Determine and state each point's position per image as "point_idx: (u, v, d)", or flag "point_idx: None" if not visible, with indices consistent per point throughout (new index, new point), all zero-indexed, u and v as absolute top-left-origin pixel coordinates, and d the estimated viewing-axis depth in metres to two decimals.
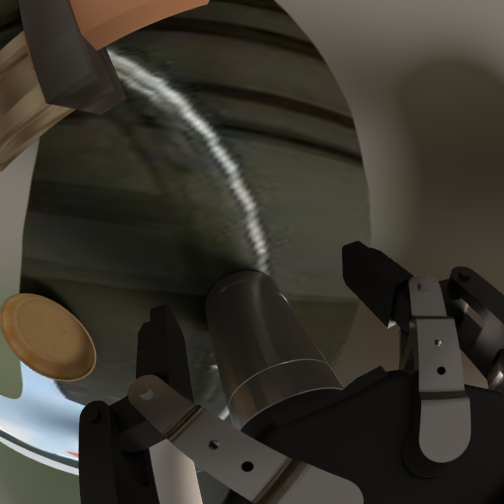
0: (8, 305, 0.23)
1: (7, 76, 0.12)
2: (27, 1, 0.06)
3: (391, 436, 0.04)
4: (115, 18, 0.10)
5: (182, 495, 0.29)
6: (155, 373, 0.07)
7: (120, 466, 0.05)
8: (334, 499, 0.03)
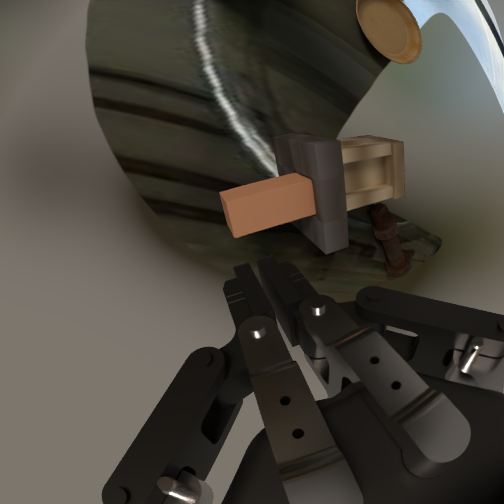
0: (404, 60, 0.31)
1: (352, 188, 0.35)
2: (342, 221, 0.28)
3: (387, 465, 0.04)
4: (288, 184, 0.28)
5: None
6: (260, 315, 0.09)
7: (201, 419, 0.06)
8: (334, 499, 0.03)
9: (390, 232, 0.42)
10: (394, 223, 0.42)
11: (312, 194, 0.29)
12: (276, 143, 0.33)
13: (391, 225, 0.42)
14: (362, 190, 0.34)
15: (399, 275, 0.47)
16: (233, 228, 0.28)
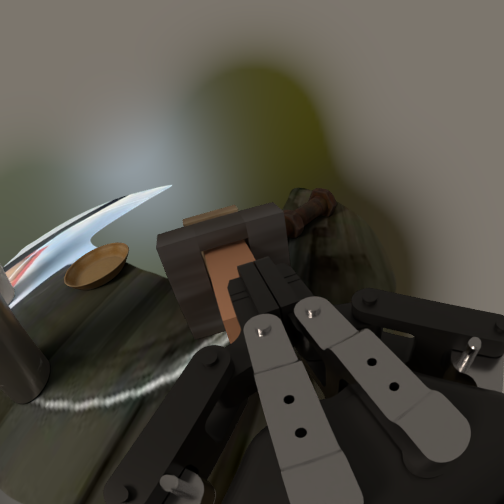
0: (126, 252, 0.49)
1: None
2: (243, 212, 0.27)
3: (387, 467, 0.04)
4: (209, 271, 0.23)
5: None
6: (265, 313, 0.09)
7: (206, 418, 0.06)
8: (334, 499, 0.03)
9: (289, 214, 0.44)
10: None
11: (222, 250, 0.26)
12: (197, 329, 0.29)
13: None
14: None
15: (329, 192, 0.48)
16: None
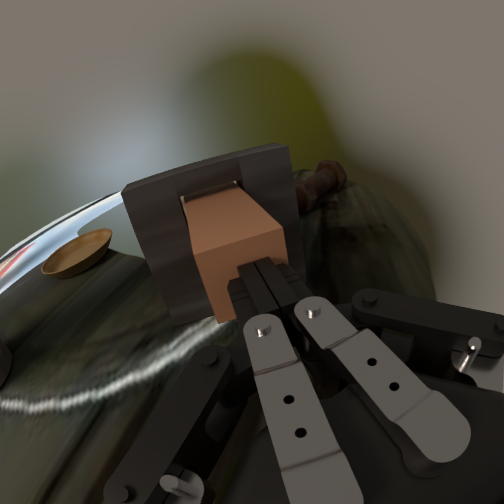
0: None
1: None
2: (236, 152, 0.20)
3: (387, 467, 0.04)
4: None
5: None
6: (265, 313, 0.09)
7: (205, 418, 0.06)
8: (334, 499, 0.03)
9: (299, 183, 0.37)
10: None
11: (206, 193, 0.20)
12: (179, 311, 0.22)
13: None
14: None
15: (337, 163, 0.42)
16: (258, 233, 0.12)
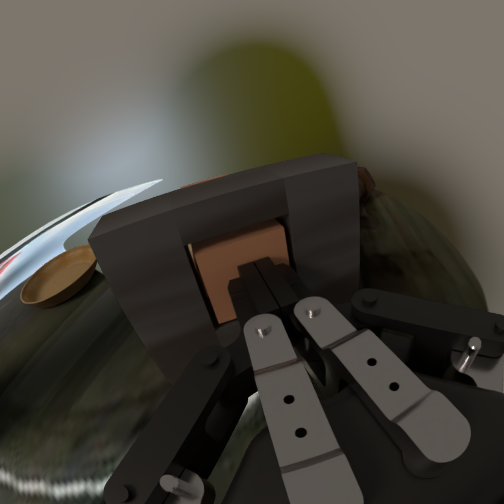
0: None
1: None
2: (272, 166, 0.13)
3: (387, 467, 0.04)
4: None
5: None
6: (266, 313, 0.09)
7: (206, 418, 0.06)
8: (334, 499, 0.03)
9: None
10: None
11: None
12: None
13: None
14: None
15: (366, 170, 0.35)
16: (260, 234, 0.12)
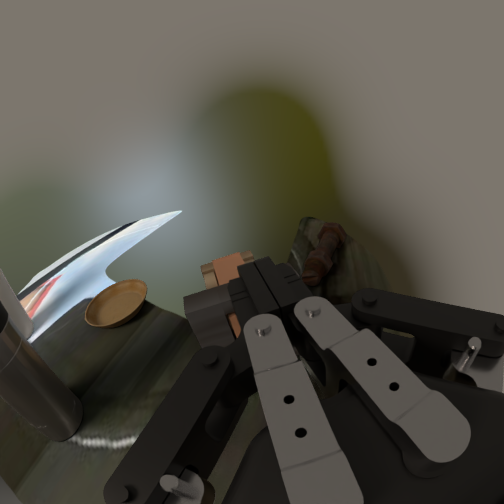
0: (145, 290, 0.52)
1: None
2: None
3: (387, 467, 0.04)
4: None
5: None
6: (265, 313, 0.09)
7: (206, 418, 0.06)
8: (334, 499, 0.03)
9: (319, 255, 0.45)
10: (309, 258, 0.46)
11: (228, 270, 0.36)
12: None
13: (312, 259, 0.45)
14: None
15: (339, 226, 0.51)
16: None
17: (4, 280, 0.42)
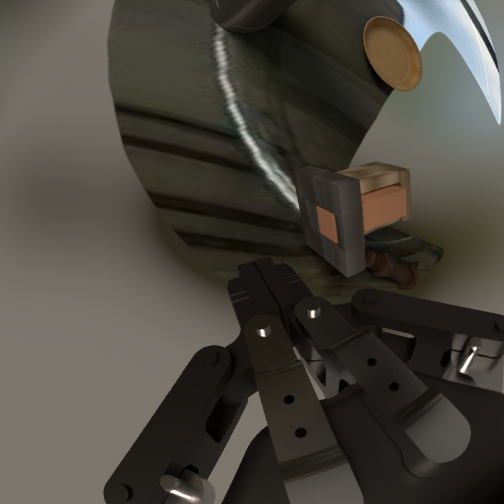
0: (407, 86, 0.36)
1: None
2: (361, 249, 0.32)
3: (387, 467, 0.04)
4: (373, 199, 0.33)
5: None
6: (265, 313, 0.09)
7: (206, 418, 0.06)
8: (334, 499, 0.03)
9: (386, 271, 0.47)
10: (387, 262, 0.47)
11: (388, 206, 0.34)
12: (297, 177, 0.38)
13: (385, 265, 0.47)
14: None
15: (409, 289, 0.51)
16: (335, 235, 0.33)
17: None
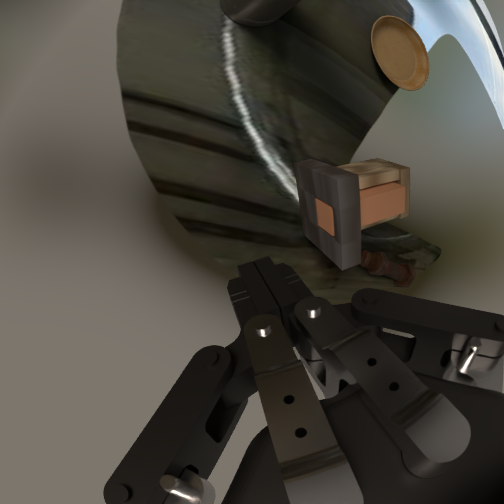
0: (412, 86, 0.36)
1: None
2: (357, 243, 0.33)
3: (387, 467, 0.04)
4: (371, 194, 0.33)
5: None
6: (265, 313, 0.09)
7: (206, 418, 0.06)
8: (334, 499, 0.03)
9: (381, 270, 0.48)
10: (382, 261, 0.48)
11: (386, 203, 0.34)
12: (298, 169, 0.38)
13: (380, 264, 0.48)
14: None
15: (405, 286, 0.52)
16: (332, 228, 0.34)
17: None
